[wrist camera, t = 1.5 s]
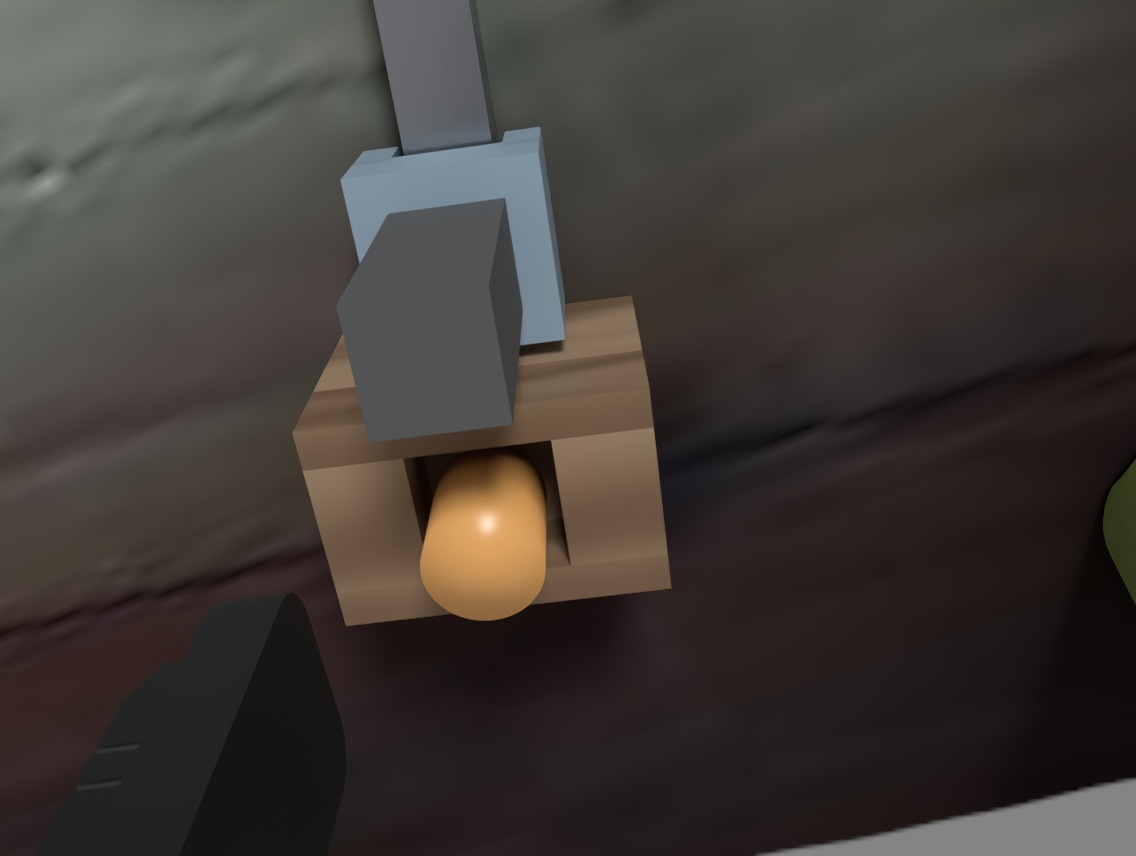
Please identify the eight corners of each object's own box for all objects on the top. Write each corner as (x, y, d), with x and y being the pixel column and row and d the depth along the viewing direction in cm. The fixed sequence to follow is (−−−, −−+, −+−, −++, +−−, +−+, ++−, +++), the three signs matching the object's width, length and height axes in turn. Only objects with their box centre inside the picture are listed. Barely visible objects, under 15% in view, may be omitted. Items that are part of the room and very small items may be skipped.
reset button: (425, 454, 28) (408, 523, 25) (538, 440, 28) (535, 508, 24) (446, 549, 29) (432, 626, 26) (554, 537, 29) (554, 613, 26)
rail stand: (116, -599, 23) (-48, -790, 17) (521, -672, 23) (508, -896, 16) (383, 499, 35) (345, 626, 29) (651, 466, 35) (671, 588, 29)
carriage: (363, 151, 30) (272, 263, 20) (540, 126, 29) (532, 228, 20) (400, 318, 32) (333, 490, 22) (564, 297, 31) (567, 461, 22)
